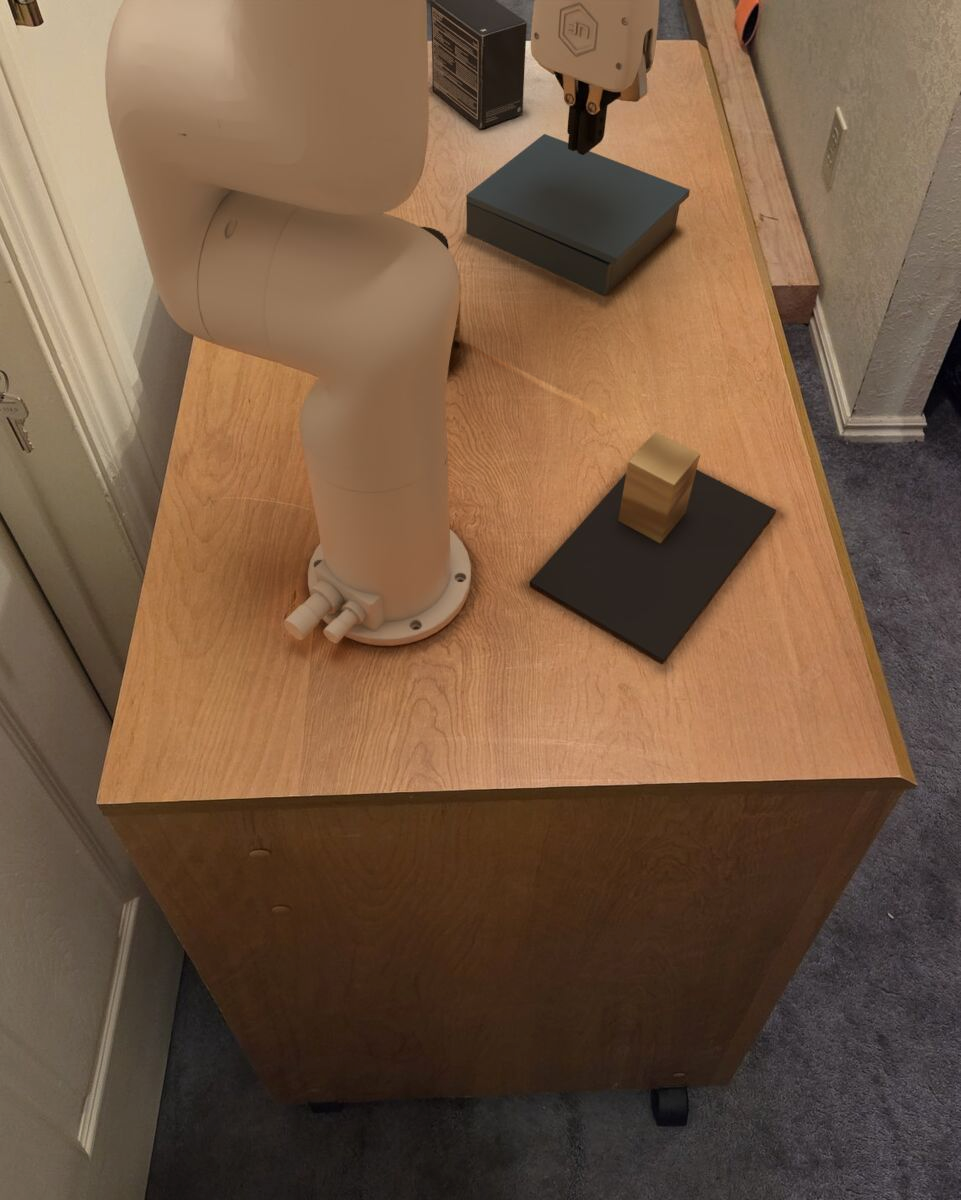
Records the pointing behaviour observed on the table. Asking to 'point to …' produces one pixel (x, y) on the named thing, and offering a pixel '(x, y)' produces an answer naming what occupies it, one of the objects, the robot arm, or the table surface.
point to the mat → (653, 565)
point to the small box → (478, 58)
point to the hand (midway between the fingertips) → (584, 145)
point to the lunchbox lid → (579, 198)
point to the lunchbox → (562, 249)
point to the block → (658, 486)
